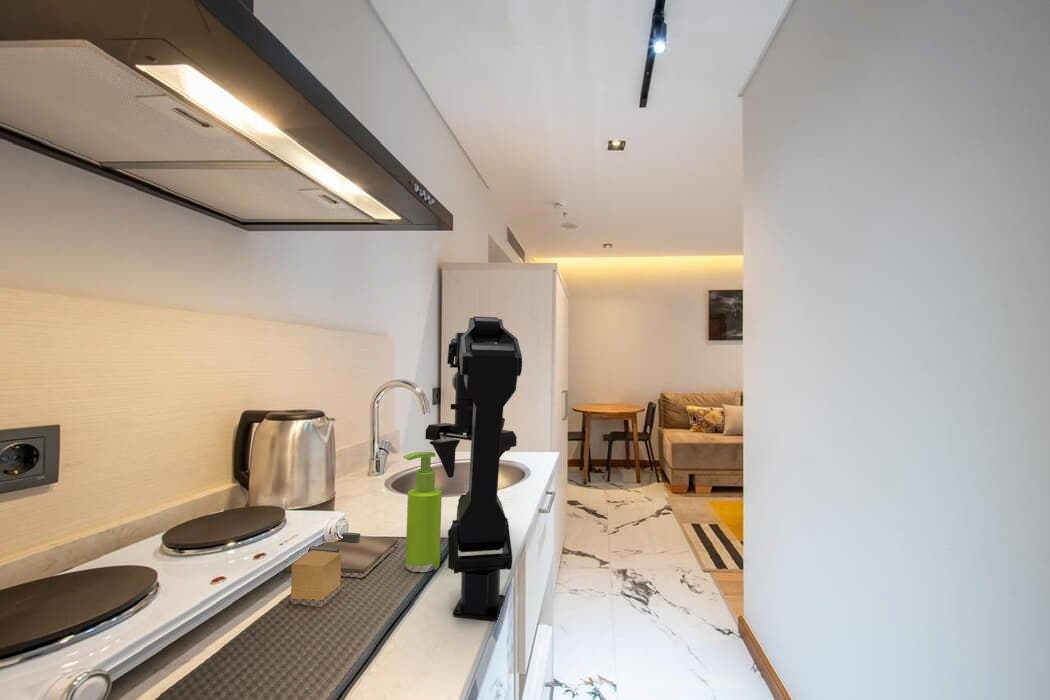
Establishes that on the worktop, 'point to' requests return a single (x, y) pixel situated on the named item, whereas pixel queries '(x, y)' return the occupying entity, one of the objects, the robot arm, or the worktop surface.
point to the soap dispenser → (423, 515)
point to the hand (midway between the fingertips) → (468, 481)
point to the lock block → (315, 575)
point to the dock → (356, 551)
